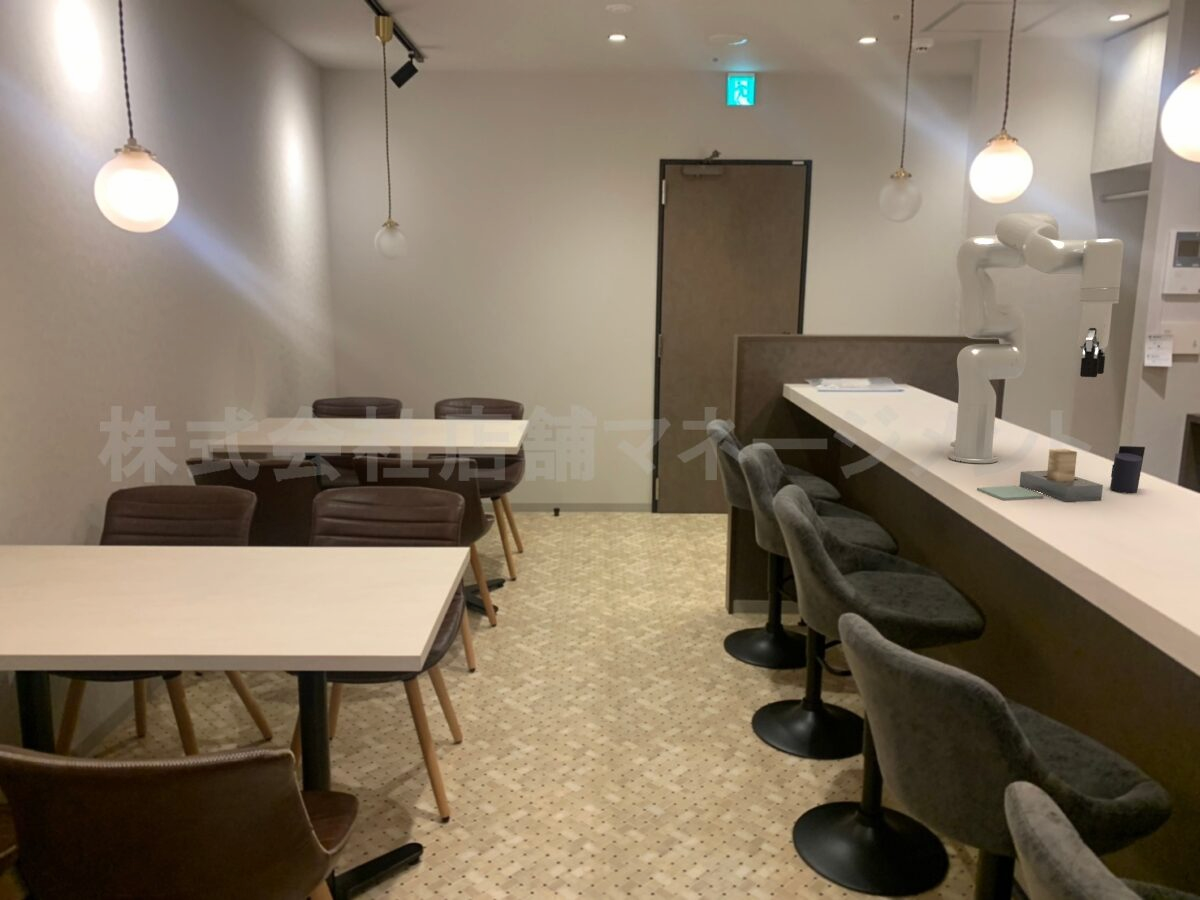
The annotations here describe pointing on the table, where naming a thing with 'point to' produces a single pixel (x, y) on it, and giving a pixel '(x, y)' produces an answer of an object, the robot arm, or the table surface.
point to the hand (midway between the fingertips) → (1091, 375)
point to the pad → (1009, 492)
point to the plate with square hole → (1061, 487)
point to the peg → (1061, 464)
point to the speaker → (1127, 469)
